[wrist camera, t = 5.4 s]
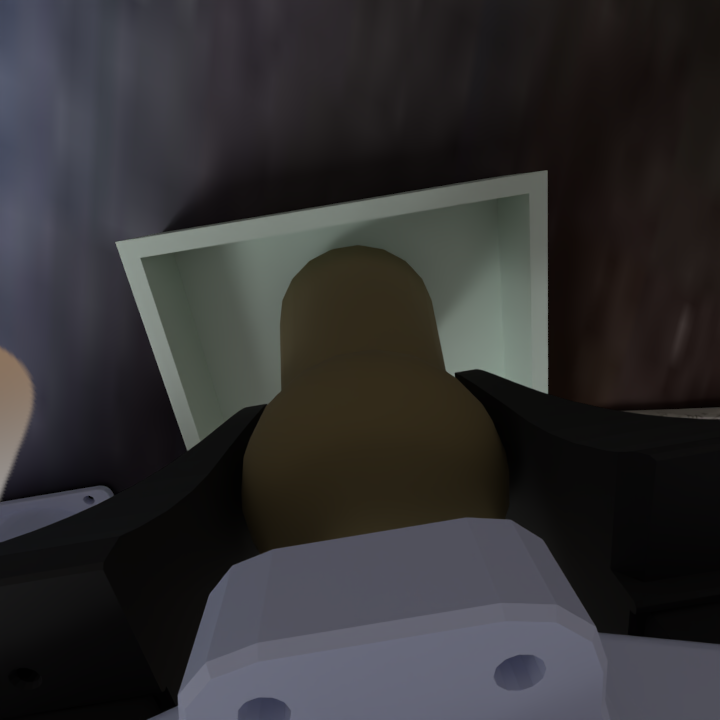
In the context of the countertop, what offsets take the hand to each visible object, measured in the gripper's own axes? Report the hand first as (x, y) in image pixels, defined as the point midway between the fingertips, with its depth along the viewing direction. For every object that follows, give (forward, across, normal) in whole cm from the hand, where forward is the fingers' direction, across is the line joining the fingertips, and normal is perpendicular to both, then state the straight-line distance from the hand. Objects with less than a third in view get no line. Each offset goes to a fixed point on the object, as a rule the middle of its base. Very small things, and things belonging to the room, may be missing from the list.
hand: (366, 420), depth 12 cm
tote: (+8, 0, +6) cm, 10 cm away
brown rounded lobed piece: (+6, 0, -1) cm, 6 cm away
